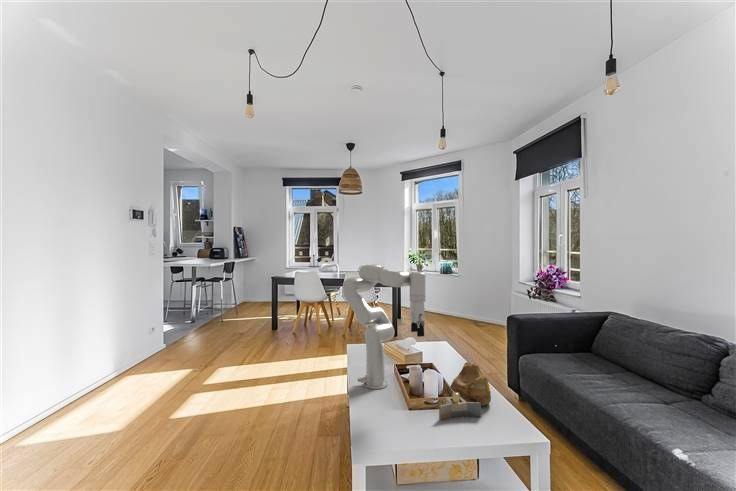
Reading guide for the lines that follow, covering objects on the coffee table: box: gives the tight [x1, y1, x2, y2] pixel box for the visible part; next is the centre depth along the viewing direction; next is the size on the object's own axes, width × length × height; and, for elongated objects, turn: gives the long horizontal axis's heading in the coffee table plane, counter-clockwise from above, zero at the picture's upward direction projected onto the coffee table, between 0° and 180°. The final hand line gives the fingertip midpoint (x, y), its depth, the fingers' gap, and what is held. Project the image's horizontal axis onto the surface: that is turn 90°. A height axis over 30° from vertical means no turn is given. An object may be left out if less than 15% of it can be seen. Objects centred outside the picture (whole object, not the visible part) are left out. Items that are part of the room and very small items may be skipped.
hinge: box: [438, 396, 482, 421], centre depth 166 cm, size 19×8×6 cm, turn 100°
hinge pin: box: [452, 391, 460, 403], centre depth 167 cm, size 3×3×9 cm
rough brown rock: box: [449, 361, 492, 406], centre depth 184 cm, size 23×17×15 cm
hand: (417, 333), depth 182 cm, fingers open, 9 cm apart
